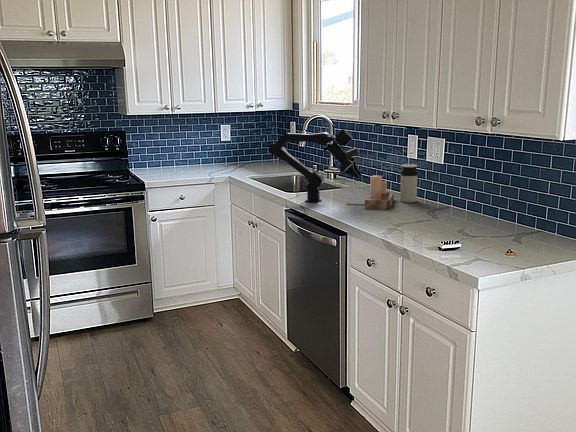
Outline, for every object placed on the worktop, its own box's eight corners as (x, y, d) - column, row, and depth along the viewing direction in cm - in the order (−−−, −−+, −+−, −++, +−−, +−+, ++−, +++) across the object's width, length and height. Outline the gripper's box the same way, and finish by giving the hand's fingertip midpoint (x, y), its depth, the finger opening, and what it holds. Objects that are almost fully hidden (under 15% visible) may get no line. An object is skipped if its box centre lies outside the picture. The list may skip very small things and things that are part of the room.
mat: (346, 204, 277) (346, 203, 277) (349, 200, 286) (349, 199, 286) (367, 205, 274) (367, 204, 274) (369, 201, 284) (369, 200, 284)
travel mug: (419, 202, 280) (420, 165, 276) (405, 203, 278) (406, 166, 274) (411, 199, 287) (412, 163, 283) (397, 200, 285) (398, 164, 281)
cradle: (364, 208, 268) (364, 199, 267) (370, 198, 290) (370, 191, 289) (389, 209, 265) (390, 200, 265) (393, 199, 287) (393, 191, 286)
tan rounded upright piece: (369, 204, 276) (369, 177, 273) (370, 202, 281) (371, 175, 278) (385, 205, 274) (386, 177, 271) (386, 202, 280) (387, 175, 276)
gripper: (347, 143, 266) (370, 167, 266) (352, 139, 284) (373, 162, 284) (330, 159, 270) (352, 183, 270) (336, 155, 287) (357, 177, 288)
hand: (359, 176), depth 278 cm, fingers open, 9 cm apart
